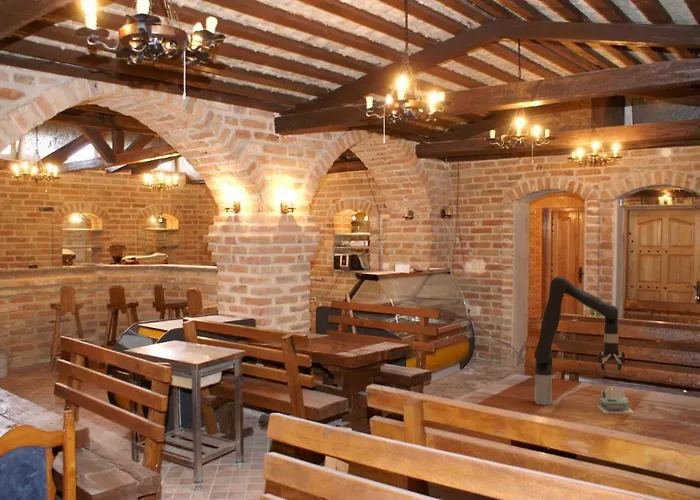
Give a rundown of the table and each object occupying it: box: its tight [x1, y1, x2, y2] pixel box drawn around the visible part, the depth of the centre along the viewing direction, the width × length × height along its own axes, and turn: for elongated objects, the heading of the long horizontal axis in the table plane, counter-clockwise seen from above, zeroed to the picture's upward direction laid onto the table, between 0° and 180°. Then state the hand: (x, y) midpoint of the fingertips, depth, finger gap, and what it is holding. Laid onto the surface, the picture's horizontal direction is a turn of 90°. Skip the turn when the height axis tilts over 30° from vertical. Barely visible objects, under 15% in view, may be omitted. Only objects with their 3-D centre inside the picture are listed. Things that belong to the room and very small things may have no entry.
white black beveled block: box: [600, 386, 630, 403], centre depth 373 cm, size 17×5×10 cm, turn 119°
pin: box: [608, 387, 615, 402], centre depth 357 cm, size 3×3×11 cm
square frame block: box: [596, 397, 635, 415], centre depth 355 cm, size 16×13×5 cm
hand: (611, 370), depth 357 cm, fingers open, 8 cm apart
